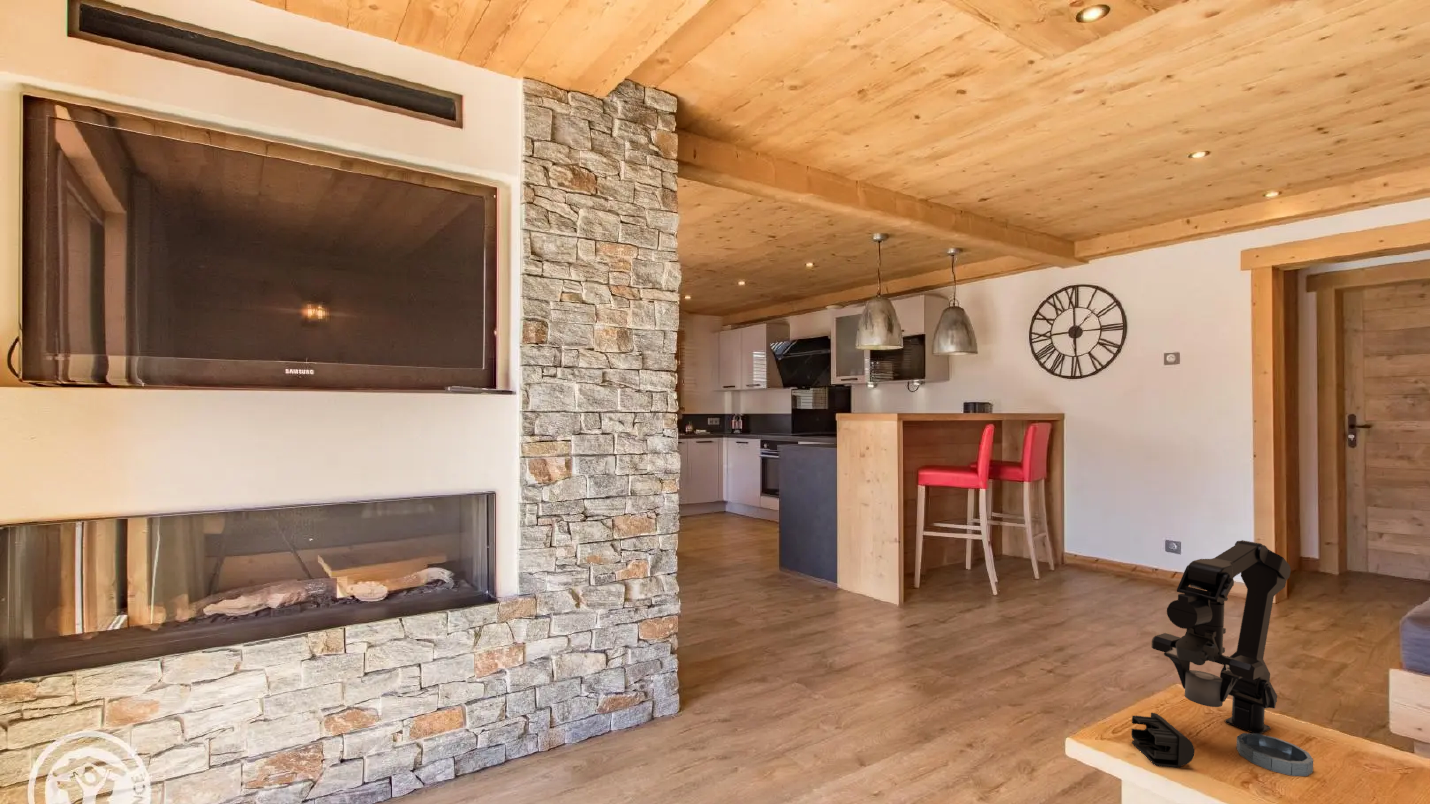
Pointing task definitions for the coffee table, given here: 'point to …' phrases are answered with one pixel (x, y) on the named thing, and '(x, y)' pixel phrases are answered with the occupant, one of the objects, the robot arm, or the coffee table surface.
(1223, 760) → the coffee table surface
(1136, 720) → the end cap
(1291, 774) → the blue-grey round tray
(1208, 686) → the dark brown cylinder
